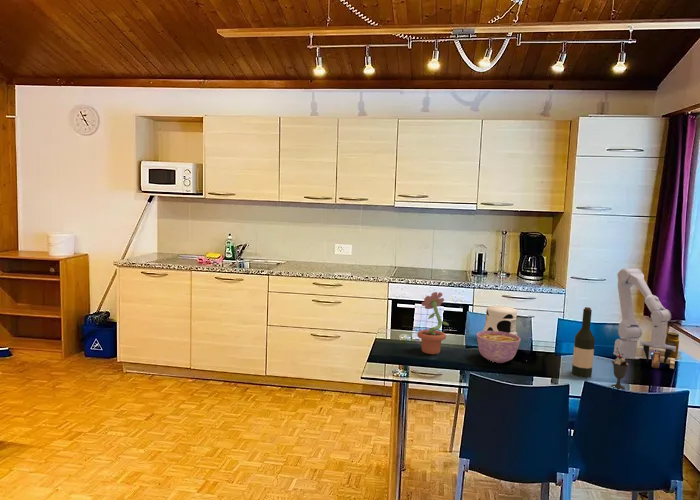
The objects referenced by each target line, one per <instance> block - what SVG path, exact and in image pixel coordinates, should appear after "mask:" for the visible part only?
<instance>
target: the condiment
mask: <svg viewBox="0 0 700 500" xmlns="http://www.w3.org/2000/svg"><path fill="white" fill-rule="evenodd" d="M665 344H666V345H670V346H675V347H676V351H672V353H671V354H670V356H669V358H675V360H676V359H681V356H678V353H679V347H680V335H679V334H678V333H676V332H672V331H671V332H666V340H665ZM664 357H665V353H664Z"/></svg>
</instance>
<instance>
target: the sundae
mask: <svg viewBox="0 0 700 500" xmlns="http://www.w3.org/2000/svg"><path fill="white" fill-rule="evenodd" d="M617 351H618V350H617ZM618 352H619V351H618ZM611 363H612V366H613V376H614V377H615V378H616V379H617V380H616V381H617V382H616V383H614V384H611V387H612V386H615V387H616V388H615V389H617V388H621V389H620V390H624V389H625V388H626V387H625V386H624V385H622V384H621V380H622V379H624V378H625V377H626V373H627V370H628V367H629V366H630V363H628V362H627V360H626V359H624V358H623V357H621V355H620V353H619V356H616V358H615V359H614V360H612V361H611Z"/></svg>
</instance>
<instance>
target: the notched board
mask: <svg viewBox="0 0 700 500" xmlns="http://www.w3.org/2000/svg"><path fill="white" fill-rule="evenodd" d="M664 358H665V357H663V356H660V364H661V363H663V364H664ZM675 361H676V359H675V358H669V357H668V359H667V361H666V363H665V364H668V365H669V369H673V370H674V369H675V364H676V363H675Z"/></svg>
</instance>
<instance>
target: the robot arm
mask: <svg viewBox="0 0 700 500" xmlns="http://www.w3.org/2000/svg"><path fill="white" fill-rule="evenodd" d="M616 276H617V290H618V299H619V305H620V312H621V318H622V319H621V321H620V322H619V323H618V330H617V333H618V336H619V338H617V339H615V341H614V349H613V353H612V354H613V355H614V356H616V357H617V356H619V353H620V355H621V357H623V358H624V359H625V360H640V357H638V356H637V349H638V341H639V339H640V338H642V335H643V330H642V328H641V326H640V323H639V322H638V320H636V317H635V311H634V303H633V298H632V292H631V288H632V286H636V288H637V289H638V290H639V291H640V293H641V295H642V296H643V297H644V303H645V304H646V305H645V306H646V307H647V308H648V310H649V312H650V318H651V320H652V322H651V323H652V328H651V329H652V330H651V339H650V340H651V341H647V340H646V341H643V340H640V341H639V346H640V347H642V349H643V351H644V355H645V359H646V363H649V355H650V348H659V349H665V358H664V363H663V364H662V365H663V366H665V365H666V364H667V363H666V361H667V359H668V357H669V356H670V354H671V353H672V351H676V347H675V346H670V345H666V344H665V340H666V336H667V330H668V322H670V321H671V320H672V313H671V311H670V310H669V309H666V307H664V306H663V304H662V302H661V301H660V298H659V297H658V296H657V295H654V294H652V291H651V289H650V288H649V286H648V284H647V282H646V280H645V275H644V273H643V271H642V270H641V269H640V268H621V269H620V270H619V271H618V272H617V275H616ZM617 350H618V351H619V352H618V351H617Z"/></svg>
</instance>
